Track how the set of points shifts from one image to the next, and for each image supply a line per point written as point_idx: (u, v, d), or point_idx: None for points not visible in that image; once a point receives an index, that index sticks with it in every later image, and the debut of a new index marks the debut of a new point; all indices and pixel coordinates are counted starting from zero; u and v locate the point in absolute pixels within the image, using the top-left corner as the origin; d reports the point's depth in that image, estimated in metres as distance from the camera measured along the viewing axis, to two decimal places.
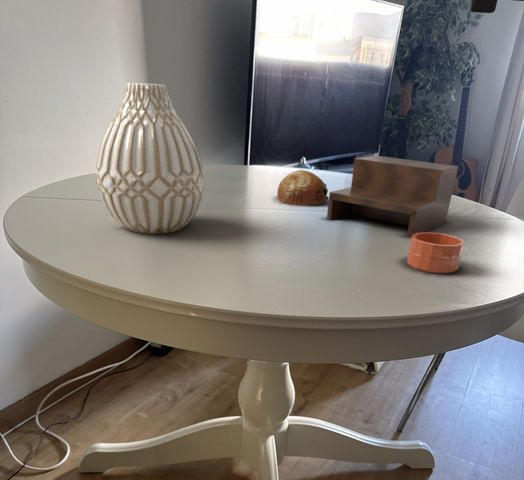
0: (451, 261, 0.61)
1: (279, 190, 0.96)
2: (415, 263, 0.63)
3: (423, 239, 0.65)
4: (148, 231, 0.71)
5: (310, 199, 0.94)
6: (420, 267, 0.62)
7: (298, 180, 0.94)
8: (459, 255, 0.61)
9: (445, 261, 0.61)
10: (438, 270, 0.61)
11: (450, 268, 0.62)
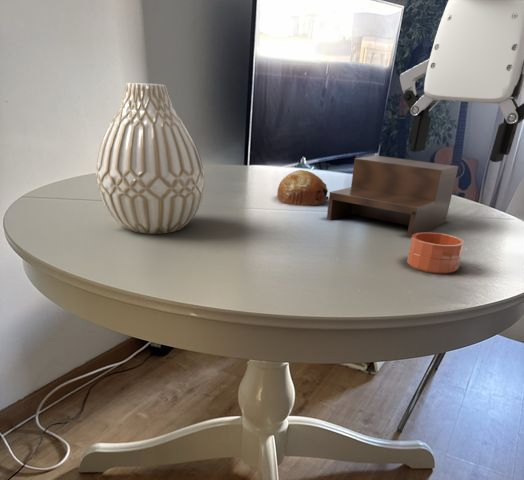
0: (451, 261, 0.61)
1: (279, 190, 0.96)
2: (415, 263, 0.63)
3: (423, 239, 0.65)
4: (148, 231, 0.71)
5: (310, 199, 0.94)
6: (420, 267, 0.62)
7: (298, 180, 0.94)
8: (459, 255, 0.61)
9: (445, 261, 0.61)
10: (438, 270, 0.61)
11: (450, 268, 0.62)
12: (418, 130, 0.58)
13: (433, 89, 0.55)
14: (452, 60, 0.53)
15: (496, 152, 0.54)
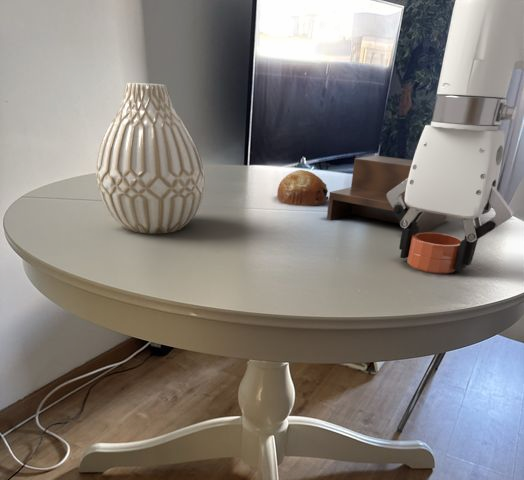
0: (451, 261, 0.61)
1: (279, 190, 0.96)
2: (415, 263, 0.63)
3: (423, 239, 0.65)
4: (148, 231, 0.71)
5: (310, 199, 0.94)
6: (420, 267, 0.62)
7: (298, 180, 0.94)
8: None
9: (445, 261, 0.61)
10: (438, 270, 0.61)
11: (450, 268, 0.62)
12: (407, 241, 0.64)
13: (412, 202, 0.61)
14: (428, 180, 0.59)
15: (459, 264, 0.61)
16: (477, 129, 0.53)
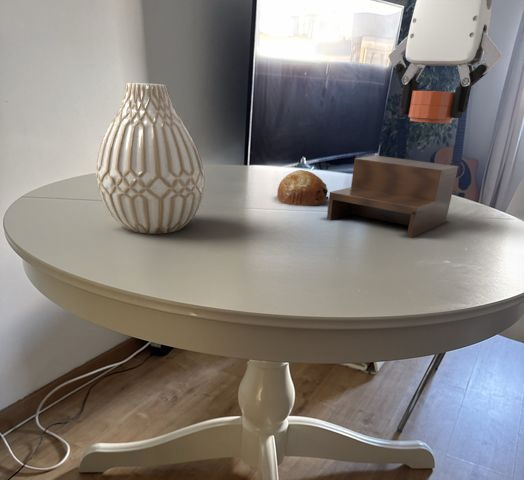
0: (448, 108, 0.68)
1: (279, 190, 0.96)
2: (416, 114, 0.70)
3: None
4: (148, 231, 0.71)
5: (310, 199, 0.94)
6: (420, 116, 0.69)
7: (298, 180, 0.94)
8: None
9: (442, 107, 0.68)
10: (436, 117, 0.69)
11: (447, 115, 0.69)
12: (408, 96, 0.71)
13: (413, 55, 0.68)
14: (427, 31, 0.66)
15: (455, 110, 0.68)
16: None
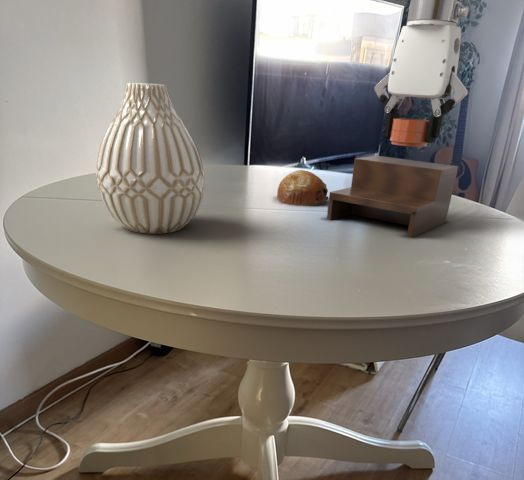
0: (422, 134, 0.80)
1: (279, 190, 0.96)
2: (395, 138, 0.82)
3: None
4: (148, 231, 0.71)
5: (310, 199, 0.94)
6: (399, 140, 0.81)
7: (298, 180, 0.94)
8: None
9: (418, 134, 0.80)
10: (413, 142, 0.81)
11: (422, 140, 0.81)
12: (390, 123, 0.83)
13: (393, 89, 0.80)
14: (405, 69, 0.78)
15: (428, 136, 0.80)
16: (439, 23, 0.72)
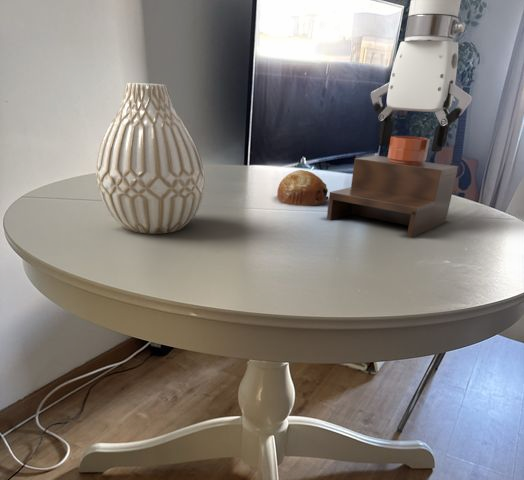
0: (419, 152, 0.82)
1: (279, 190, 0.96)
2: (393, 156, 0.83)
3: None
4: (148, 231, 0.71)
5: (310, 199, 0.94)
6: (396, 158, 0.83)
7: (298, 180, 0.94)
8: (425, 148, 0.82)
9: (415, 152, 0.81)
10: (410, 159, 0.82)
11: (419, 158, 0.82)
12: (384, 131, 0.84)
13: (392, 103, 0.81)
14: (403, 84, 0.79)
15: (435, 145, 0.80)
16: (437, 39, 0.73)
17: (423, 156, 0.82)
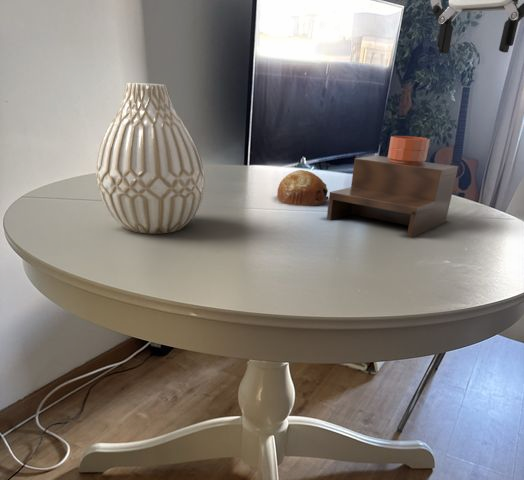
0: (419, 152, 0.82)
1: (279, 190, 0.96)
2: (393, 156, 0.83)
3: None
4: (148, 231, 0.71)
5: (310, 199, 0.94)
6: (396, 158, 0.83)
7: (298, 180, 0.94)
8: (425, 148, 0.82)
9: (415, 152, 0.81)
10: (410, 159, 0.82)
11: (419, 158, 0.82)
12: (444, 35, 0.79)
13: (456, 1, 0.76)
14: None
15: (503, 43, 0.75)
16: None
17: (423, 156, 0.82)
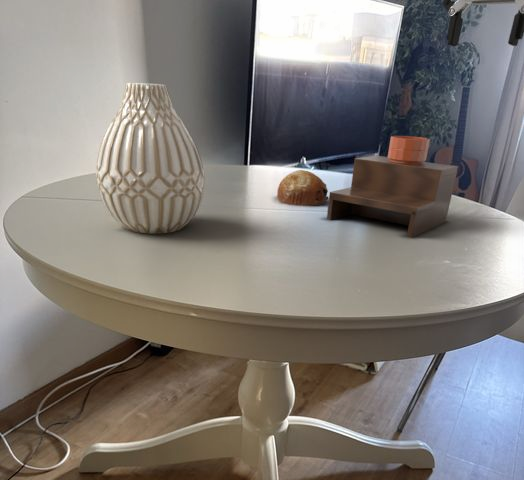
0: (419, 152, 0.82)
1: (279, 190, 0.96)
2: (393, 156, 0.83)
3: None
4: (148, 231, 0.71)
5: (310, 199, 0.94)
6: (396, 158, 0.83)
7: (298, 181, 0.94)
8: (425, 148, 0.82)
9: (415, 152, 0.81)
10: (410, 159, 0.82)
11: (419, 158, 0.82)
12: (454, 27, 0.79)
13: None
14: None
15: (513, 36, 0.75)
16: None
17: (423, 156, 0.82)
